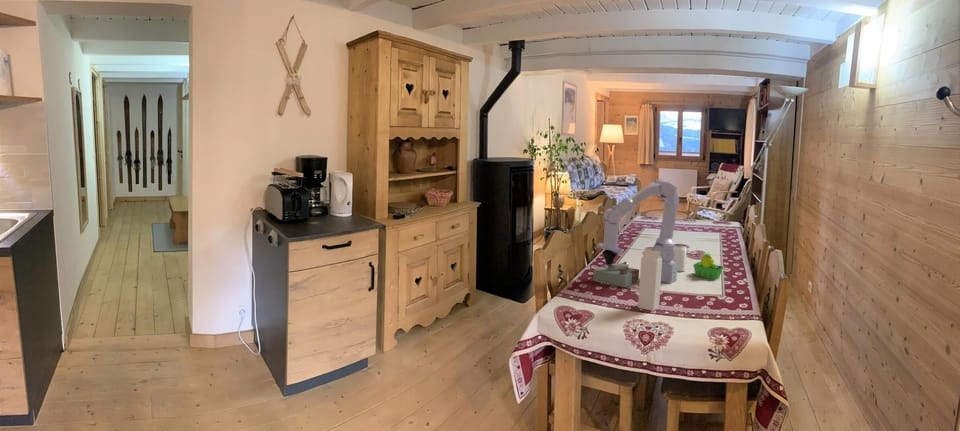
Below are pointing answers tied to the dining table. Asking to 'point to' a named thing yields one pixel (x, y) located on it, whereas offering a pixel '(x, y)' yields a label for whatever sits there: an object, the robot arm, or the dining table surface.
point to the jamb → (634, 273)
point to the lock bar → (616, 266)
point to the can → (680, 256)
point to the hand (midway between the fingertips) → (609, 267)
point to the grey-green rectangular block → (613, 276)
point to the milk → (650, 280)
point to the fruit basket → (707, 268)
